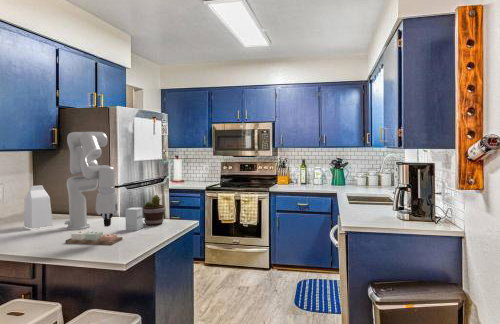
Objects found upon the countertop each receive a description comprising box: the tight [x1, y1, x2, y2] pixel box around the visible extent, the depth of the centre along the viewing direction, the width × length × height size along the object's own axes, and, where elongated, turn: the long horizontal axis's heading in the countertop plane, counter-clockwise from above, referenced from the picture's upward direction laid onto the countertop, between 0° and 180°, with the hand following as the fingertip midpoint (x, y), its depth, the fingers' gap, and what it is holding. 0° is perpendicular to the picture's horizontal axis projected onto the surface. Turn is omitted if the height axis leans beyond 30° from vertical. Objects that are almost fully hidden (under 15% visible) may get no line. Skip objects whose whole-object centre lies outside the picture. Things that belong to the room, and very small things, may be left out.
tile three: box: [100, 233, 118, 241], centre depth 183 cm, size 6×6×3 cm
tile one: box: [70, 230, 90, 240], centre depth 186 cm, size 6×6×3 cm
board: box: [64, 236, 124, 246], centre depth 185 cm, size 26×10×2 cm, turn 80°
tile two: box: [85, 231, 104, 240], centre depth 184 cm, size 6×6×3 cm
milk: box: [23, 184, 54, 229], centre depth 222 cm, size 12×12×26 cm
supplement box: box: [124, 207, 144, 232], centre depth 212 cm, size 7×7×13 cm
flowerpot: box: [141, 193, 166, 226], centre depth 226 cm, size 14×15×20 cm
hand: (107, 225), depth 183 cm, fingers closed
